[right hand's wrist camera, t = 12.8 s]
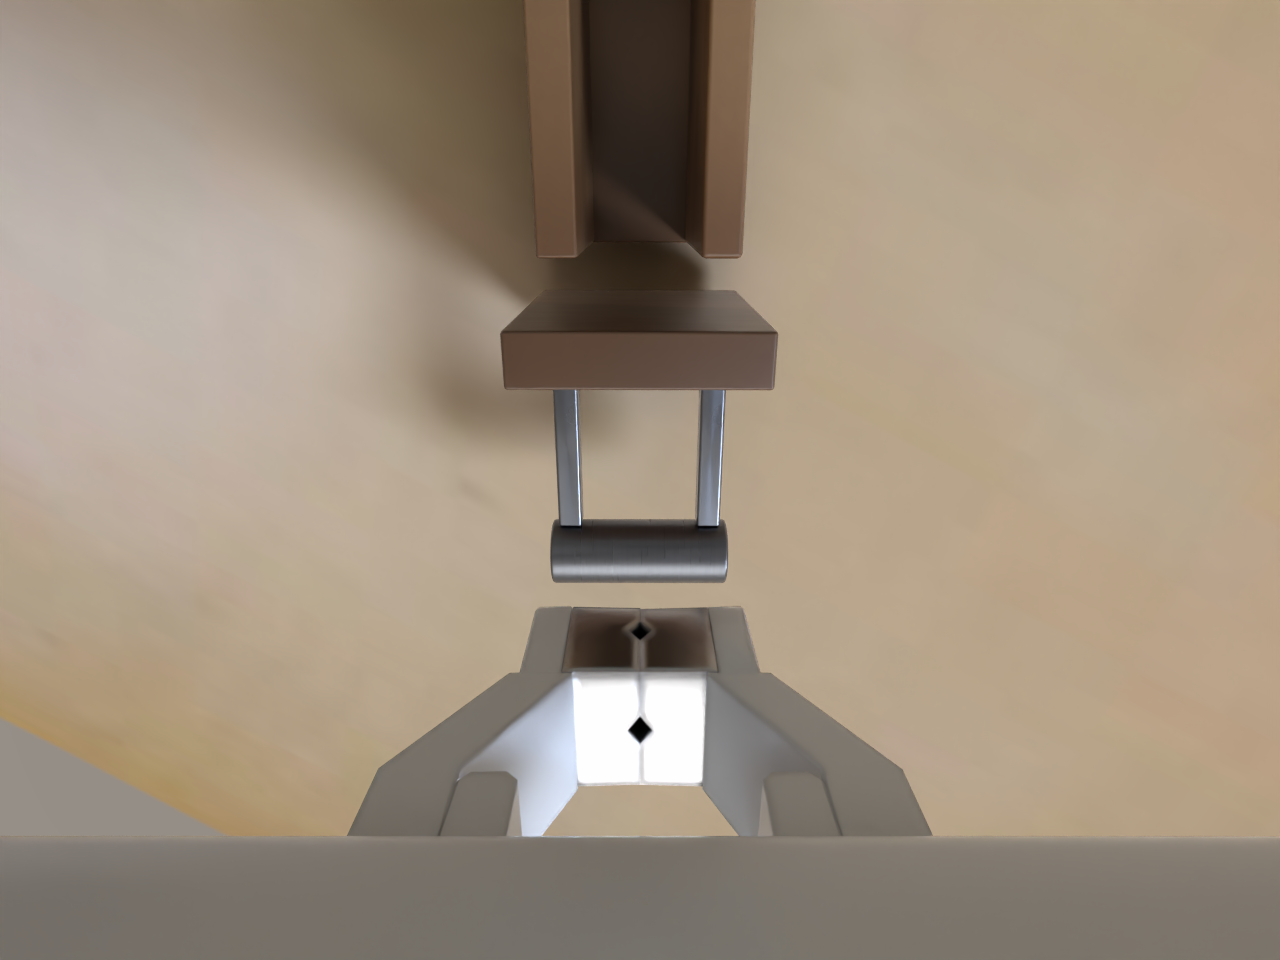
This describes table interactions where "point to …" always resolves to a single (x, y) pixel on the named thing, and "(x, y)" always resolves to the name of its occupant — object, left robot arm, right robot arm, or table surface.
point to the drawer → (639, 212)
